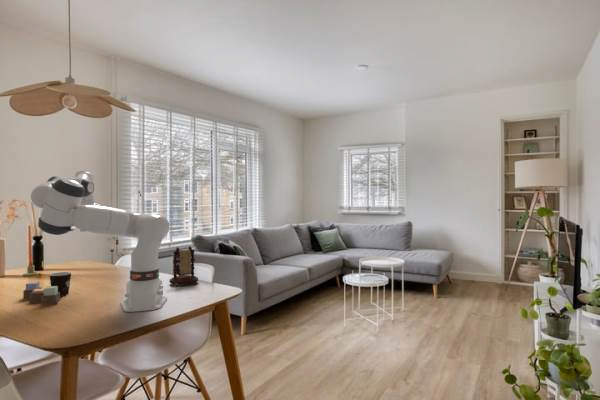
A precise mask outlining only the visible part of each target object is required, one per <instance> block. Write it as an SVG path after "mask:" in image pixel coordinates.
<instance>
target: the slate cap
mask: <svg viewBox="0 0 600 400" xmlns="http://www.w3.org/2000/svg"><path fill="white" fill-rule="evenodd" d="M39 287H40V281H28V282H27V283H25V290H26V291H29V290H35V289H39Z"/></svg>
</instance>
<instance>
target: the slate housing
mask: <svg viewBox="0 0 600 400" xmlns="http://www.w3.org/2000/svg"><path fill="white" fill-rule="evenodd" d="M39 289H43V288H42V287H40V286H39ZM32 291H33V290H29V291H26V289H24V290H23V291H22V293H23V298H22V299H29V300H30V294H31V293H32Z"/></svg>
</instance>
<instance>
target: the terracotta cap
mask: <svg viewBox="0 0 600 400" xmlns="http://www.w3.org/2000/svg"><path fill="white" fill-rule="evenodd" d="M34 293H44V288H42V289H35V290H33V291H32V294H34Z"/></svg>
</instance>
